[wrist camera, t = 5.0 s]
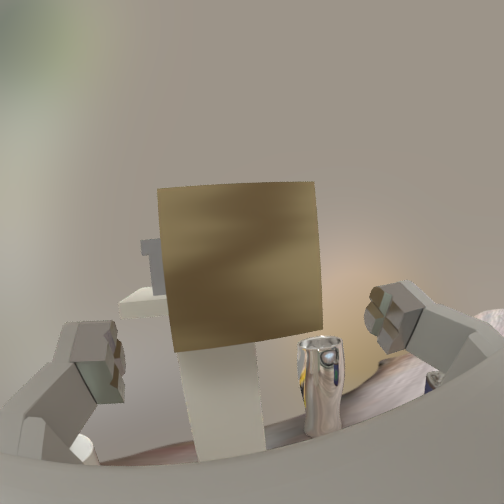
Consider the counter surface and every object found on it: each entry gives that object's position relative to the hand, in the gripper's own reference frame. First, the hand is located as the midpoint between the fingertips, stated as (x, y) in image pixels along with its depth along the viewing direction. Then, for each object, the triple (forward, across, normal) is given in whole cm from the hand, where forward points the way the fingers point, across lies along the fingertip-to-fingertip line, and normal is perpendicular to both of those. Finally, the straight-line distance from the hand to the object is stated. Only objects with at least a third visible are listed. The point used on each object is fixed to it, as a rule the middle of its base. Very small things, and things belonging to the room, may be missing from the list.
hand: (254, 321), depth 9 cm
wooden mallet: (+6, 0, +4) cm, 7 cm away
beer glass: (+12, -16, +38) cm, 43 cm away
